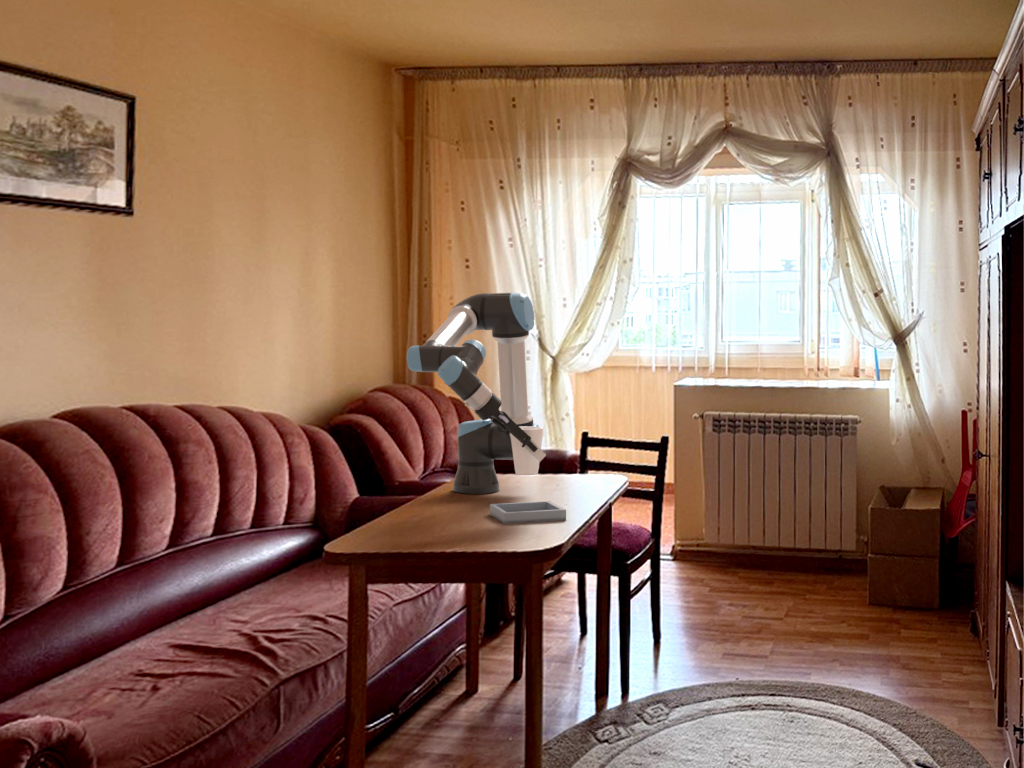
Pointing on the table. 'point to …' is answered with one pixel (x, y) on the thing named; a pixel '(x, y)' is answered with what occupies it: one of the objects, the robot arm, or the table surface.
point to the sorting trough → (527, 512)
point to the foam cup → (526, 451)
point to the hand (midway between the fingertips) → (537, 456)
